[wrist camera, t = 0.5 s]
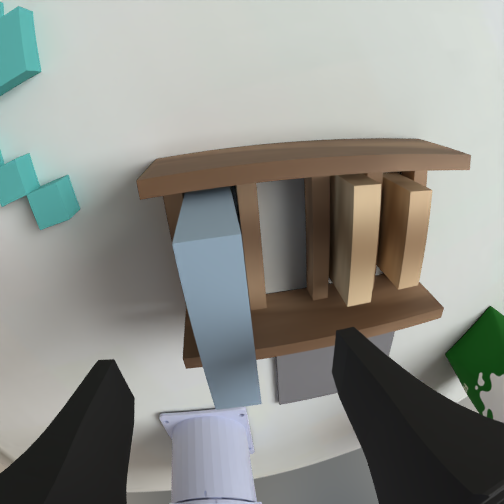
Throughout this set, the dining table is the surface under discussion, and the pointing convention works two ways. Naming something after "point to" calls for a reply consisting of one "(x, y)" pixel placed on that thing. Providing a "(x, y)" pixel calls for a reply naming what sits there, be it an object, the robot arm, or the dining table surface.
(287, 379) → the grey mat
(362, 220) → the offcut
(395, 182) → the offcut
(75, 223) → the dining table surface
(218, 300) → the blue block
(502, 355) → the milk carton
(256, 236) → the rack
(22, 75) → the alien figure
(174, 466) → the robot arm
